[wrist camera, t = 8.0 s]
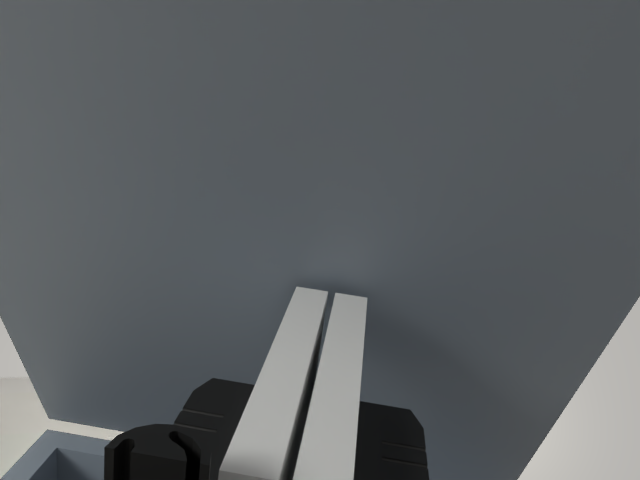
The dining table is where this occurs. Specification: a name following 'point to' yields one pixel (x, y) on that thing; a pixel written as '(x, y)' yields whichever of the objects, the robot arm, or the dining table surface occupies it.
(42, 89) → the lid
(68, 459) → the mailer box
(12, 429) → the dining table surface
